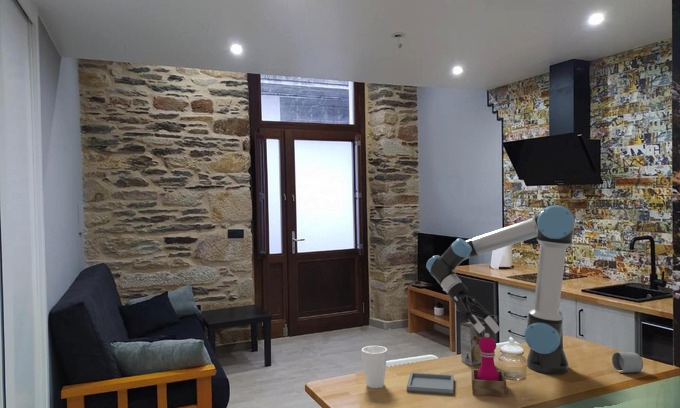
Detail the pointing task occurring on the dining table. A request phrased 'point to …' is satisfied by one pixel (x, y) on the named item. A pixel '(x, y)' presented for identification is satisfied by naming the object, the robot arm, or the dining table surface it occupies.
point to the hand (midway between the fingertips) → (490, 331)
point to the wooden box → (488, 385)
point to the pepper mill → (487, 359)
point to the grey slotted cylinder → (627, 362)
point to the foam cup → (374, 365)
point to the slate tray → (430, 383)
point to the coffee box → (471, 343)
